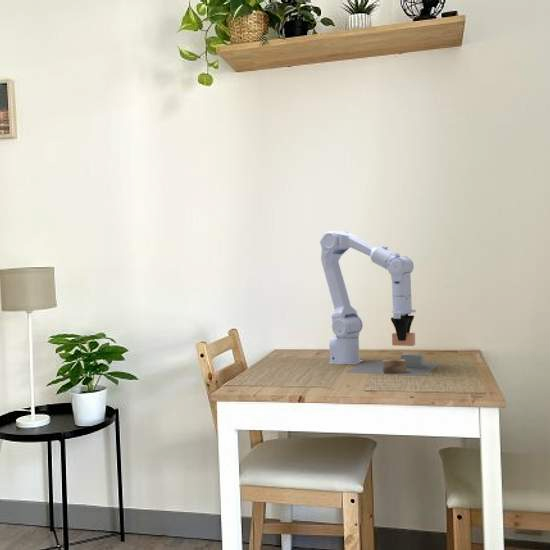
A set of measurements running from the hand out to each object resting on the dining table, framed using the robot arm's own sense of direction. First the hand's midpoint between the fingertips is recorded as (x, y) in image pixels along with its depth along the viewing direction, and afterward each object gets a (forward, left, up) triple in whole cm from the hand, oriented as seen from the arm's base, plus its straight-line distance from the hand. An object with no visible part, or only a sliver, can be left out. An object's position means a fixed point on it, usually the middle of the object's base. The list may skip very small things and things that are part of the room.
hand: (403, 339), depth 193 cm
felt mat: (-3, -2, -9) cm, 10 cm away
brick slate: (+2, +2, -9) cm, 9 cm away
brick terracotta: (0, 0, -2) cm, 2 cm away
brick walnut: (-1, -9, -9) cm, 12 cm away
